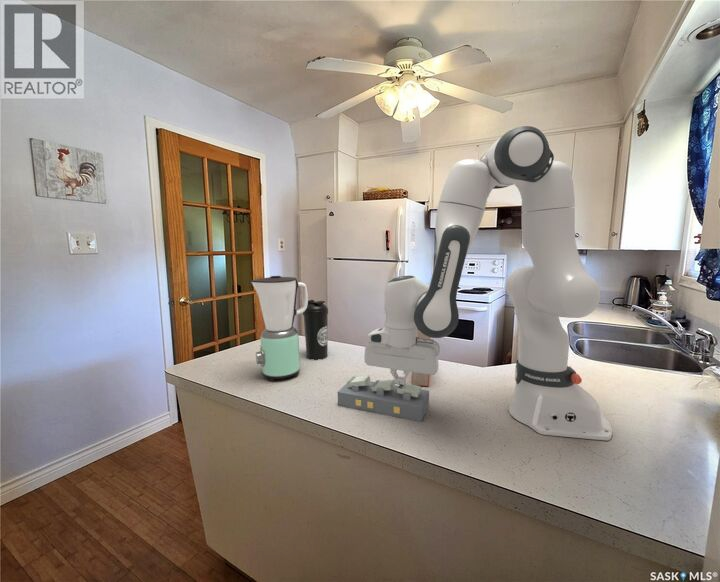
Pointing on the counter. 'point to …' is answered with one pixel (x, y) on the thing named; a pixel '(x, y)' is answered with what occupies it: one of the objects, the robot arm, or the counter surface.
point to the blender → (279, 326)
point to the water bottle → (316, 330)
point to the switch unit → (384, 401)
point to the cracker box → (420, 378)
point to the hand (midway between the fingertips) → (400, 384)
